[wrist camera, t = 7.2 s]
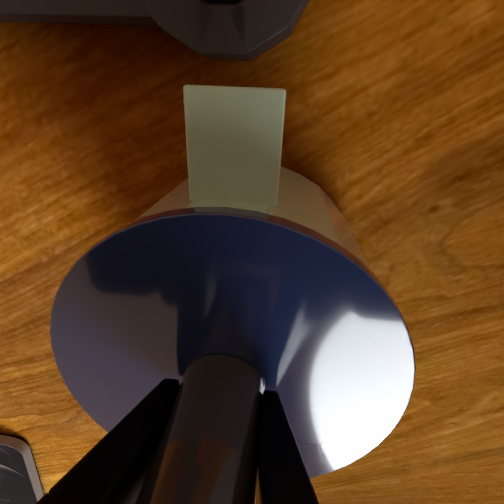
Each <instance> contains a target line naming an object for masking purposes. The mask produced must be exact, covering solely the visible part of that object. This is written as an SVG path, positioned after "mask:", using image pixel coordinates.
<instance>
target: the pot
mask: <svg viewBox="0 0 504 504" xmlns="http://www.w3.org/2000/svg"><path fill="white" fill-rule="evenodd" d="M286 93H287V92H286V89H284V88H264V87H238V86H212V85H184V86H183V98H184V115H185V132H186V149H187V166H188V178H187V179H185V180H184V181H183V182H182V183H180V184H179V185H178V186H177V187H175V188H174V189H173V190H172V191H170V192H169V193H168V194H167V195H165V196H164V197H163V198H162V199H160V200H159V201H158V202H157V203H156V204H154V205H153V206H152V207H151V208H149V209H148V210H147V211H146V212H144V213H143V214H142V215H141V216H139V217H138V218H137V219H136V220H138V219H140V218H143V217H146V216H149V215H153V214H157V213H161V212H164V211H168V210H175V209H183V208H191V207H231V208H238V209H246V210H253V211H259V212H262V213H266V214H270V215H274V216H278V217H281V218H285V219H288V220H290V221H293V222H295V223H298V224H300V225H303V226H305V227H308V228H310V229H313V230H315V231H316V232H318V233H320V234H322V235H324V236H325V237H327V238H329V239H331V240H332V241H334V242H336V243H338V244H339V245H341V246H342V247H343V248H345V249H346V250H347V251H349V252H350V253H351V254H353V255H354V256H355V257H357V258H358V259H359V260H361V261H362V262H363V263H364V264H365V265H366V266H367V267H368V268H369V265H368V263H367V261H366V259H365V257H364V255H363V253H362V251H361V249H360V246H359V244H358V242H357V240H356V238H355V236H354V234H353V232H352V230H351V227H350V225H349V223H348V221H347V219H346V218H345V216H344V215H343V214H342V213H341V212H340V210H339V209H338V208H337V206H336V205H335V203H334V202H333V201H332V199H331V198H330V197H329V196H328V195H327V194H326V193H325V192H324V191H323V190H322V189H321V188H320V186H318V185H317V184H315V183H313V182H312V181H310V180H309V179H307V178H305V177H304V176H302V175H300V174H298V173H296V172H294V171H292V170H289V169H287V168H284V167H281V158H282V145H283V132H284V119H285V106H286ZM136 220H134V221H136ZM369 269H370V268H369Z"/></svg>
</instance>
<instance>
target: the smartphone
mask: <svg viewBox="0 0 504 504" xmlns="http://www.w3.org/2000/svg"><path fill="white" fill-rule="evenodd" d="M43 496H44V494H43V491H42V488H41V484H40V481H39V477H38V474H37V471H36V467H35V464H34V461H33V457H32V454H31V450H30V448H29V446H28V445H27V444H26V443H25V442H24V441H22V440H20V439H18V438H15V437H10V436H5V435H0V504H36V503H37V502H38V501H39V500H40V499H41V498H42V497H43Z"/></svg>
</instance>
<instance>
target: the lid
mask: <svg viewBox="0 0 504 504" xmlns="http://www.w3.org/2000/svg"><path fill="white" fill-rule="evenodd" d="M50 336H51V346H52V350H53V354H54V358H55V362H56V364H57V367H58V369H59V371H60V374H61V376H62V378H63V380H64V382H65V384H66V385H67V387H68V389H69V390H70V392H71V394H72V395H73V396H74V398H75V399H76V400H77V402H78V403H79V404H80V406H81V407H82V408H83V409H84V410H85V411H86V412H87V413H88V414H89V416H90V417H91V418H92V419H93V420H94V421H95V422H96V423H98V424H99V425H100V426H101V427H102V428H103V429H105V430H106V431H107V432H108V433H109V432H110V431H111V430H112V429H113V428H114V427H115V426H116V425H117V424H118V423H119V422H120V421H121V420H122V419H123V418H124V417H125V416H126V415H127V414H128V413H129V412H130V411H131V410H132V409H133V408H134V407H135V406H136V405H137V404H138V403H139V402H140V401H141V400H143V399H144V398H145V397H146V396H147V395H148V394H149V393H150V392H151V391H152V390H153V389H154V388H155V387H156V386H157V385H158V384H159V383H160V382H161V381H162V380H163V379H165V378H170V379H177V380H179V383H180V386H179V389H178V391H177V394H176V397H175V399H174V402H173V405H172V407H171V410H170V413H169V415H168V418H167V420H166V423H165V426H164V428H163V431H162V434H161V436H160V439H159V442H158V444H157V447H156V449H155V452H154V455H153V457H152V460H151V463H150V465H149V468H148V471H147V473H146V476H145V478H144V481H143V484H142V486H141V489H140V492H139V494H138V497H137V500H136V502H135V504H255V495H256V483H257V471H258V444H259V430H260V418H261V407H262V396H263V391H264V390H272V391H277V392H278V393H279V396H280V398H281V401H282V404H283V407H284V409H285V412H286V415H287V418H288V420H289V423H290V426H291V429H292V431H293V434H294V437H295V439H296V442H297V445H298V448H299V450H300V453H301V456H302V459H303V461H304V464H305V467H306V470H307V472H308V475H309V478H313V477H317V476H320V475H323V474H327V473H330V472H333V471H335V470H338V469H340V468H342V467H345V466H347V465H349V464H351V463H353V462H354V461H356V460H358V459H360V458H362V457H363V456H365V455H366V454H368V453H369V452H370V451H372V450H373V449H374V448H376V447H377V446H378V445H379V444H380V443H381V442H382V441H383V440H384V439H385V438H386V437H387V436H389V435H390V433H391V432H392V431H393V429H394V428H395V427H396V425H397V424H398V423H399V421H400V420H401V418H402V416H403V414H404V412H405V410H406V409H407V407H408V405H409V401H410V398H411V395H412V391H413V388H414V379H415V369H416V366H415V356H414V347H413V344H412V340H411V337H410V333H409V330H408V327H407V325H406V323H405V321H404V319H403V317H402V315H401V313H400V311H399V309H398V307H397V305H396V303H395V301H394V299H393V298H392V296H391V295H390V294H389V292H388V291H387V289H386V288H385V287H384V285H383V284H382V282H381V281H380V280H379V279H378V278H377V276H376V275H375V274H374V273H373V272H372V271H371V270H370V269H369V268H368V267H367V266H366V265H365V264H364V263H363V262H362V261H361V260H359V259H358V258H357V257H355V256H354V255H353V254H351V253H350V252H349V251H347V250H346V249H345V248H343V247H342V246H341V245H339V244H338V243H336V242H334V241H332V240H331V239H329V238H327V237H325V236H324V235H322V234H320V233H318V232H316V231H315V230H313V229H310V228H308V227H305V226H303V225H300V224H298V223H295V222H293V221H290V220H288V219H285V218H281V217H278V216H274V215H270V214H266V213H262V212H259V211H253V210H246V209H238V208H231V207H191V208H183V209H175V210H168V211H164V212H161V213H157V214H153V215H149V216H146V217H143V218H140V219H138V220H136V221H133V222H131V223H129V224H126V225H124V226H122V227H120V228H118V229H117V230H115V231H114V232H112V233H111V234H109V235H107V236H106V237H104V238H103V239H101V240H100V241H99V242H97V243H96V244H95V245H93V246H92V247H91V248H90V249H89V250H88V251H87V252H86V253H84V254H83V255H82V256H81V257H80V258H79V259H78V260H77V261H76V262H75V264H74V265H73V266H72V268H71V269H70V270H69V271H68V273H67V274H66V275H65V277H64V279H63V281H62V283H61V285H60V287H59V289H58V291H57V293H56V296H55V300H54V304H53V307H52V311H51V321H50Z"/></svg>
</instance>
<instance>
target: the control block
mask: <svg viewBox="0 0 504 504" xmlns="http://www.w3.org/2000/svg"><path fill="white" fill-rule="evenodd" d="M309 1H310V0H0V21H3V22H46V23H89V24H131V25H158V26H159V27H160V28H162V29H163V30H164V31H166V32H167V33H169V34H170V35H171V36H173V37H174V38H176V39H177V40H178V41H180V42H181V43H183V44H184V45H186V46H187V47H188V48H190V49H191V50H193V51H194V52H195V53H197V54H199V55H202V56H204V57H206V58H208V59H210V60H231V61H251V60H253V59H255V58H257V57H258V56H260V55H261V54H263V53H264V52H266V51H268V50H269V49H271V48H272V47H274V46H275V45H277V44H279V43H280V42H282V41H283V40H285V39H286V38H288V36H290V35H291V33H292V32H293V30H294V28H295V26H296V24H297V23H298V21H299V19H300V17H301V16H302V14H303V12H304V10H305V8H306V7H307V5H308V3H309Z"/></svg>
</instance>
